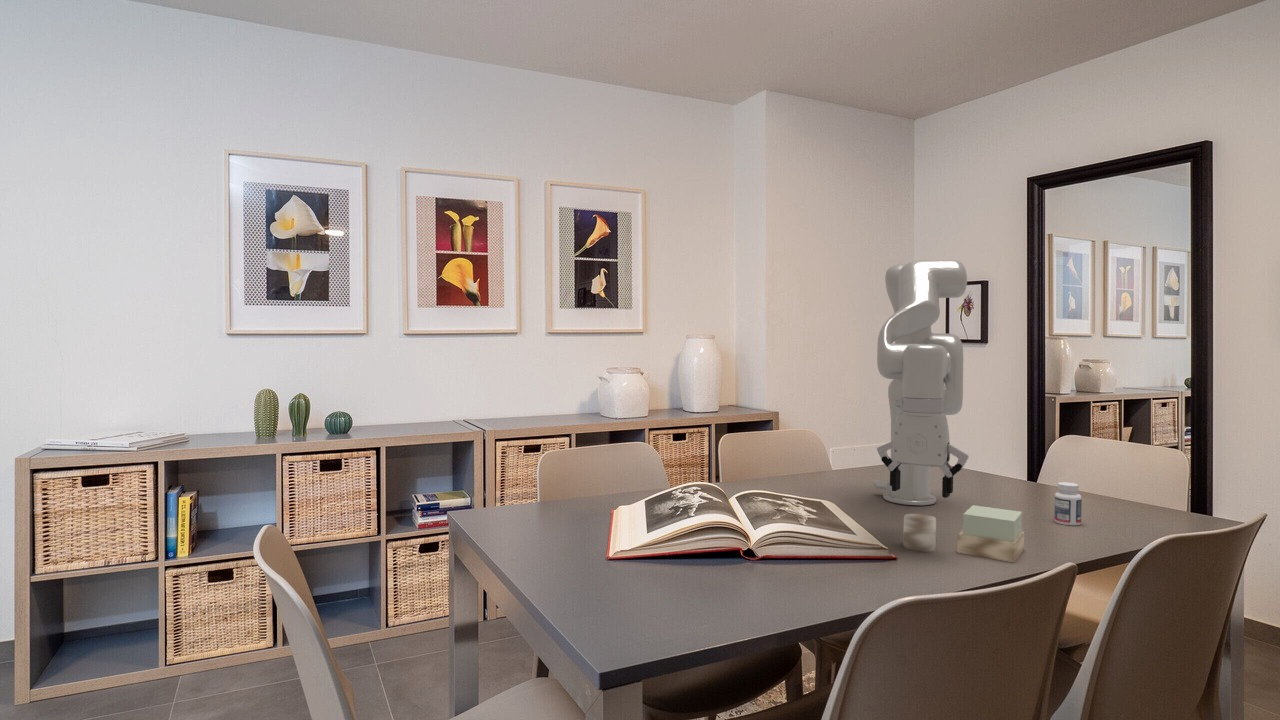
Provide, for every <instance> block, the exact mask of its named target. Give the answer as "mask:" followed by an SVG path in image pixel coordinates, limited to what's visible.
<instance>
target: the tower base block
mask: <svg viewBox="0 0 1280 720" xmlns="http://www.w3.org/2000/svg"><path fill="white" fill-rule="evenodd" d="M956 544H957V546H956V553H958V554H963V555H969V556H976V557H981V558H986V559H992V560H997V561H998V560H999V561H1004V562H1009V563H1015V562H1016V561H1017V559H1018V558H1019V557H1020V555H1021V554H1022V553H1023V551H1024V550H1025V531H1022V532H1021V533H1020V535H1019V536H1018V538H1017V539H1016V540H1015V542H1008V541H1002V540H995V539H989V538H983V537H976V536H970V535H964V534H963V529H962V530H961V531H960V532H958V533H957V543H956Z"/></svg>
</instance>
